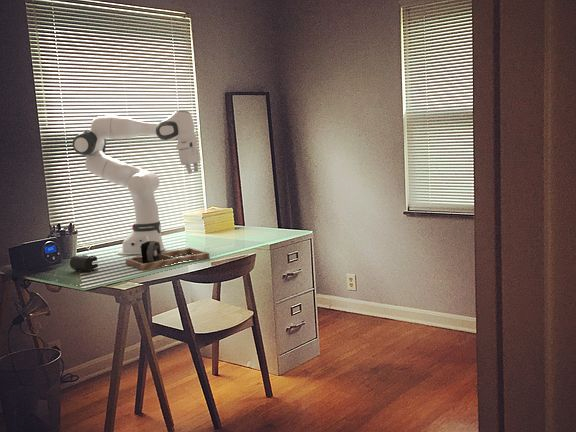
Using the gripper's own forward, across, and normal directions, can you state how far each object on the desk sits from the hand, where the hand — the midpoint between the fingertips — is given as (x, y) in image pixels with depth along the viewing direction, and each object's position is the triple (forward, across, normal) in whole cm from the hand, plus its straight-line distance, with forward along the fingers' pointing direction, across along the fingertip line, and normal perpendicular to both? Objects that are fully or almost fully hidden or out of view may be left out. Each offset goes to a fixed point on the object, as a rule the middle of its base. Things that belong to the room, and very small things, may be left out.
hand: (193, 172), depth 297 cm
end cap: (+33, +44, -42) cm, 69 cm away
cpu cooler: (+36, +33, -16) cm, 51 cm away
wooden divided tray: (+36, +27, -10) cm, 46 cm away
